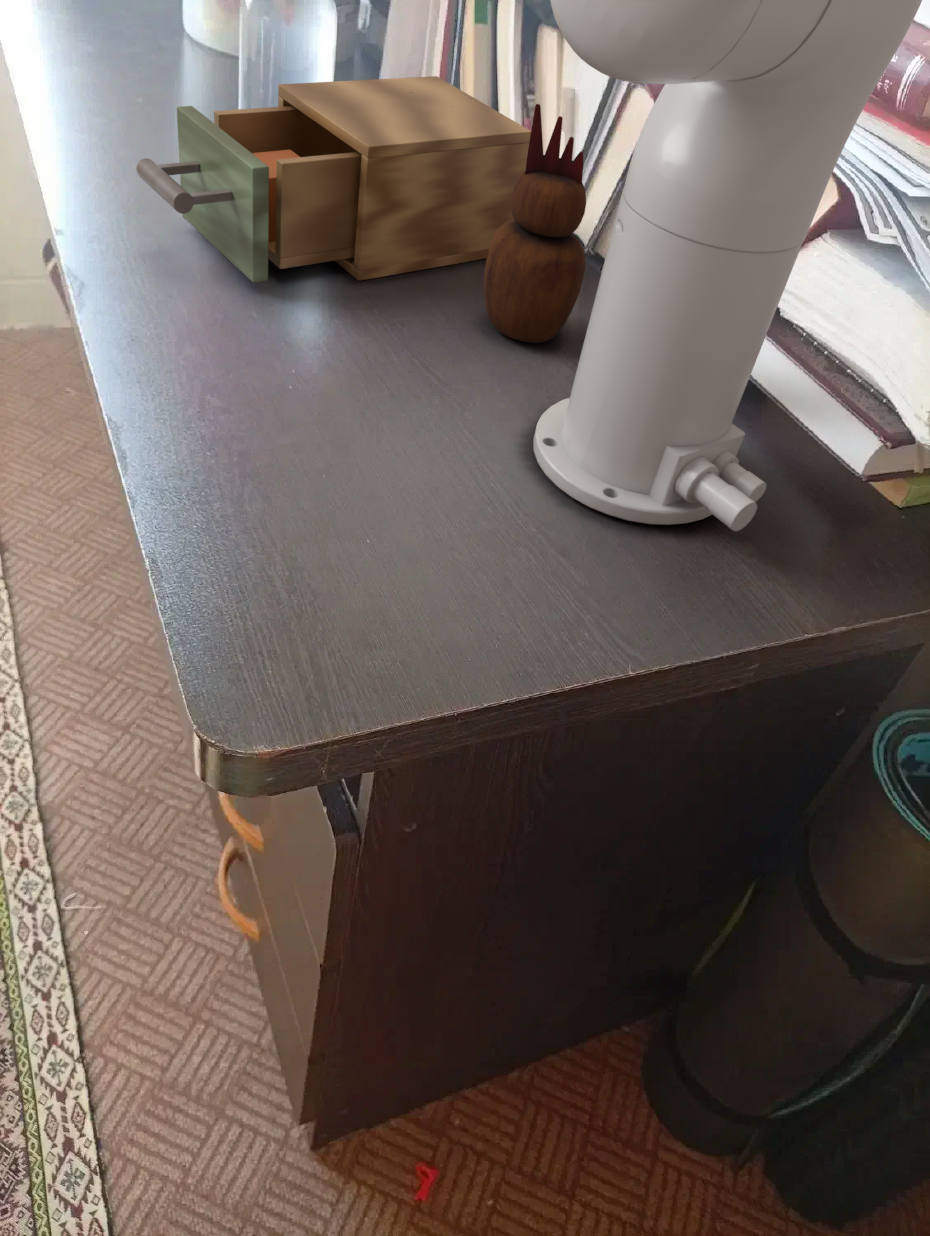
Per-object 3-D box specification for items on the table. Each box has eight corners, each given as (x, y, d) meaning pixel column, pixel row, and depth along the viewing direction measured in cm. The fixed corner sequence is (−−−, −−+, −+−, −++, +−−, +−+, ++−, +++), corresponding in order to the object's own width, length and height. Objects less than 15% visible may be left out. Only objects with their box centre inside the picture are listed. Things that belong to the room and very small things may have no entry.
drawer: (195, 292, 66) (189, 174, 60) (126, 223, 72) (116, 109, 66) (412, 256, 75) (424, 151, 69) (335, 197, 81) (341, 96, 75)
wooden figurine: (463, 329, 69) (499, 103, 59) (497, 301, 73) (537, 85, 63) (548, 362, 68) (600, 136, 57) (579, 332, 72) (633, 115, 61)
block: (318, 234, 73) (321, 172, 69) (264, 242, 70) (264, 178, 67) (289, 209, 75) (290, 149, 72) (235, 216, 73) (234, 153, 69)
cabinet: (358, 281, 72) (368, 146, 66) (276, 212, 79) (278, 83, 72) (509, 254, 80) (532, 131, 73) (423, 194, 86) (436, 75, 80)
